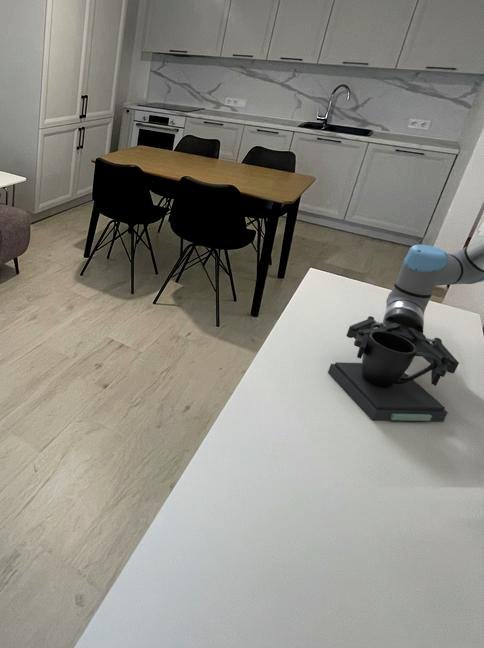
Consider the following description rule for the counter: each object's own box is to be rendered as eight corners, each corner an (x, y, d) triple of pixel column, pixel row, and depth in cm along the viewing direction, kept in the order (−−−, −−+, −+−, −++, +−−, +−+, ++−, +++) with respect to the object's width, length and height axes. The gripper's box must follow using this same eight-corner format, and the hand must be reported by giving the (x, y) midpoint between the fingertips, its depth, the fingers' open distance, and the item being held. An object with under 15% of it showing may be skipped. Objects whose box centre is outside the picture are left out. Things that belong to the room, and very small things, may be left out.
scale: (445, 423, 99) (451, 410, 97) (373, 422, 98) (379, 409, 96) (390, 374, 113) (395, 362, 111) (327, 372, 112) (332, 360, 110)
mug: (423, 405, 98) (442, 366, 94) (353, 381, 104) (369, 343, 100) (420, 383, 104) (438, 346, 101) (355, 362, 110) (369, 325, 106)
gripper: (461, 357, 110) (465, 408, 94) (339, 317, 123) (324, 356, 107) (476, 328, 107) (483, 376, 91) (349, 290, 120) (335, 326, 104)
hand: (397, 365), depth 99 cm, fingers closed on mug, 12 cm apart
